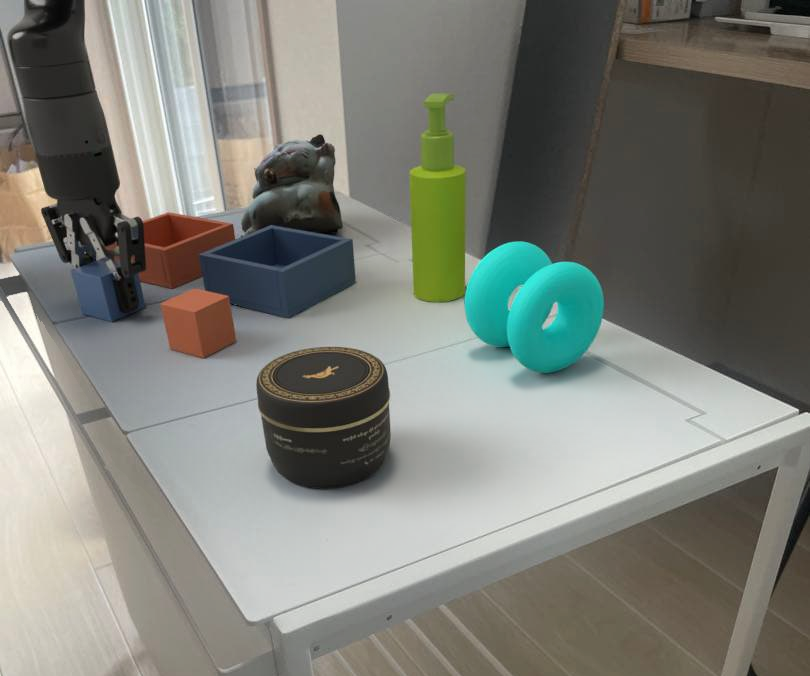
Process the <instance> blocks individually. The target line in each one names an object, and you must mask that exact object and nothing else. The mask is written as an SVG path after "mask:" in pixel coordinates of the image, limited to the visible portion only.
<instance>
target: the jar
mask: <svg viewBox="0 0 810 676" xmlns="http://www.w3.org/2000/svg"><path fill="white" fill-rule="evenodd" d="M255 384H256V396H257V408H258V411H259V413H260V417H261V423H262V431H263V435H264V442H265V447H266V451H267V454H268V456H269V458H270V461H271V463H272V465H273V467H274V468H275V470H276V471H277V472H278V474H280V475H281V476H282V477H284V478H285V479H286V480H287V481H289V482H291V483H293V484H295V485H298V486H301V487H305V488H309V489H310V488H312V489H336V488H343V487H347V486H351V485H355V484H357V483H360V482H362V481H364V480H367V479H368V478H369V477H371V476H373V475H374V474H375V473H376V472H377V471H378V470H379V469H380V468H381V467H382V466H383V464H384V463H385V461H386V459H387V456H388V453H389V450H390V444H391V436H392V433H391V415H390V414H391V413H390V412H391V411H390V401H391V390H390V386H389V385H390V384H389V375H388V370H387V368H386V365H385V364H384V363H383V361H382V360H381V359H379V358H378V356H375V355H374V354H372V353H369V352H367V351H365V350H361V349H358V348H352V347H346V346H345V347H344V346H319V347H318V346H316V347H309V348H304V349H299V350H295V351H292V352H288V353H286V354H283V355H281V356H278V357H276V358H274V359H273V360H271V361H270V362H268V363H267V364H266V365H265V366H263V367H262V369H261V370H260V371H259V373H258V375H257V378H256V383H255Z"/></svg>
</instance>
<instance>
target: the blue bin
mask: <svg viewBox="0 0 810 676" xmlns="http://www.w3.org/2000/svg"><path fill="white" fill-rule="evenodd" d="M244 235H245V234H244ZM242 236H243V235H242ZM235 239H236V240H233V241H231V242H228V243H226V244H223V245H221V246H218V247H216V248H213V249H211V250H209V251H206V252H204V253H201V254H199V259H200V265H201V270H202V276H201V277H202V281H203V286H204V290H205V291H209V292H213V293H218V294H222V295H226V296H229V300H230V303H231V304H230V305H232V304H236V305H239V306H238V307H240V306H243V307H242V308H244V307H247V308H246V309H249V308H250V309H249V310H253V311H258V312H262V313H266V314H269V315H273V316H279V317H283V318H287V319H290V318H292V317H294V316H295V315H297V314H299V313H302V312H303V311H306V310H307V309H309V308H311V307H313V306H315V305H316V304H318V303H320V302H322V301H324V300H325V299H328V298H330V297H332V296H333V295H335V294H337V293H339V292H341V291H343V290H344V289H347V288H349V287H350V286H352V285H354V284H356V283H357V277H356V264H355V254H354V252H355V251H354V240H353V238H348V237H342V236H337V235H331V234H326V233H321V232H315V231H314V232H308V231H302V230H296V229H291V228H285V227H279V226H274V225H270V226H268V227H265V228H263V229H260V230H258V231H255V232H253V233H250V234H248V235H245V236H243V237H241V236H240V237H239V238H238V237H237V238H235ZM236 305H235V306H236Z"/></svg>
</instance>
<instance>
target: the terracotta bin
mask: <svg viewBox="0 0 810 676" xmlns="http://www.w3.org/2000/svg"><path fill="white" fill-rule="evenodd" d="M142 221H143V226H144V242H145V257H146V270H145V271H143V272H140V273H138V275H139V279H140V282H142V283H148V284H151V285H155V286H159V287H163V288H168V289H175V288H177V287H180V286H182V285H184V284H187V283H189V282H191V281H194V280H196V279H199V278H201V277H203V276H202V270H201V265H200V259H199V254H201V253H204V252H206V251H209V250H211V249H213V248H216V247H218V246H221V245H223V244H226V243H228V242H231V241H233V240H236V239H237V238H236V234H235V227H234V223H232V222H226V221H221V220H215V219H209V218H203V217H197V216H191V215H186V214H180V213H174V212H170V211H168V212H165V213H162V214H159V215H156V216H153V217H150V218H148V219H145V220H142ZM116 247H117V243H116V242H115V244H113V245H110V246H107V247H106V248H107V249H108V250H111V249H113V248H116ZM115 259H117V260H120V257H119V256H117V255H116V256H115ZM131 259H132V261H133V262H135V259H134V255H133V256H132V257H131Z"/></svg>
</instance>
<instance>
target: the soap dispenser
mask: <svg viewBox="0 0 810 676" xmlns="http://www.w3.org/2000/svg"><path fill="white" fill-rule="evenodd" d="M454 100H455V94H453V93H431V94H430V95H428V96H427V97H426V99H425V100H424V102H423V107H424V109H428V110H427V111H428V129H426V130H425V131H423V132H422V133H420V164H421V165H419V166H416V167H413V168H411V169H410V170H409V196H410V199H409V201H410V226H411V259H412V260H411V261H412V289H413V291H412V292H413V296H414V297H415V298H416V299H419V300H421V301H425V302H430V303H431V302H432V303H442V302H451V301H455V300H458V299H460V298H461V297H463V296H465V294H466V193H467V192H466V185H467V182H466V181H467V180H466V179H467V178H466V177H467V176H466V175H467V172H466V171H467V170H466V168H465V167H463V166H462V165H457V164H454V162H455V160H454V159H455V157H454V154H455V151H454V148H455V147H454V141H455V140H454V139H455V138H454V133H453V132H452V131H450V130H449V129H447V128H446V105H447V104H448V103H449V102H450V101H454Z"/></svg>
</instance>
